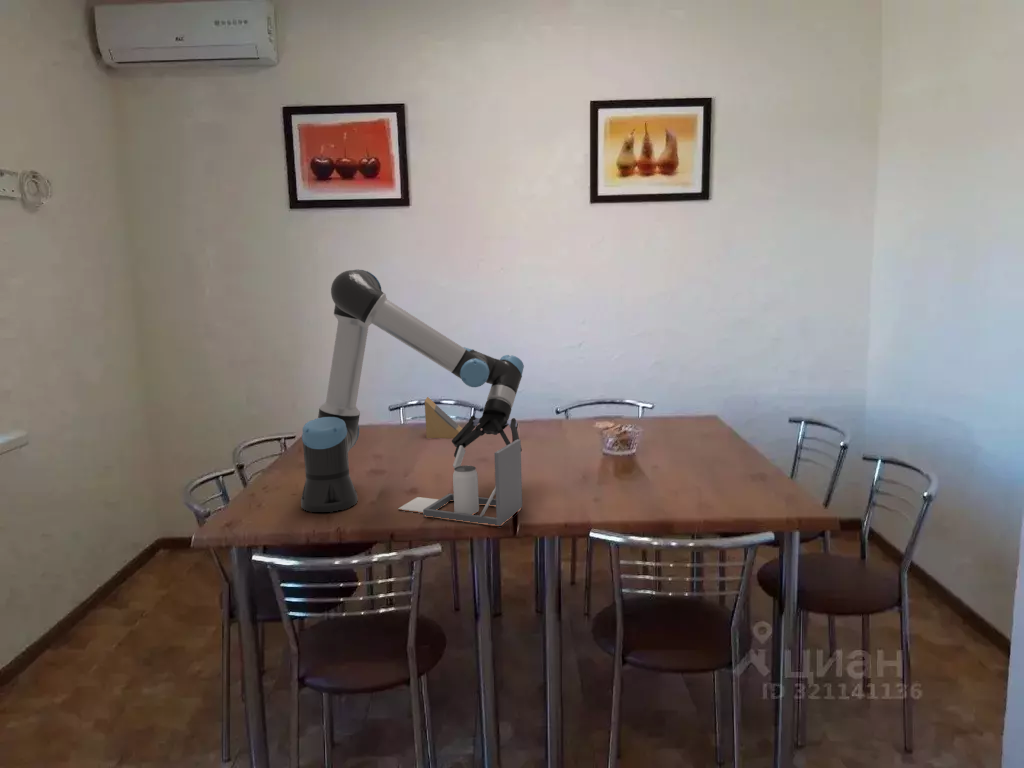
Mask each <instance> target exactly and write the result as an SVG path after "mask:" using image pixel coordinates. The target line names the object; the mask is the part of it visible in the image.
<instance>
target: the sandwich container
mask: <svg viewBox="0 0 1024 768" xmlns="http://www.w3.org/2000/svg"><path fill="white" fill-rule="evenodd" d="M424 415H425V417H424V418H425V419H424V420H425V434H426V435H425V437H426V438H445V439H454V438H455V436H456V435H457V434H458V433H459V432H460V431H461V430H462V429H463V427H461V425H459V424H458V423H457V422H456V421H455V420H453V418H451V417H450V416H449V415H448V414H447V413H446V412H445V411H443V410H442V408H441V407H439V405H437V404H436V403H435V401H433V400H432V399H430V397H429V396H427V397H426V398H425V399H424Z"/></svg>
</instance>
